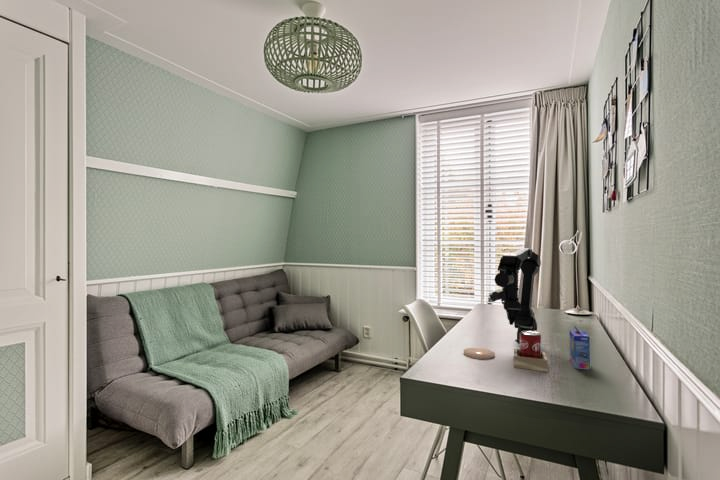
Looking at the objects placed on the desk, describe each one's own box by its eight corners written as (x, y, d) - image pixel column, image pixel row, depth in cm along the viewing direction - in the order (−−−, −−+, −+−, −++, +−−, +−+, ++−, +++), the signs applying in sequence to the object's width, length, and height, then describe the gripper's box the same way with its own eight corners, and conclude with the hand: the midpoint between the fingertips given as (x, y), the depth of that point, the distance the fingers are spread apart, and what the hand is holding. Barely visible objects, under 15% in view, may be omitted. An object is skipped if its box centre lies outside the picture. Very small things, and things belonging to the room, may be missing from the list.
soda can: (540, 363, 146) (541, 331, 146) (540, 369, 140) (541, 336, 140) (519, 360, 149) (520, 329, 149) (518, 366, 143) (519, 333, 143)
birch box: (513, 358, 152) (513, 348, 152) (544, 362, 148) (544, 351, 148) (514, 367, 141) (514, 356, 141) (547, 371, 137) (547, 360, 137)
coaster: (482, 349, 164) (482, 347, 164) (501, 357, 153) (501, 355, 153) (457, 351, 160) (457, 349, 160) (474, 360, 149) (474, 357, 149)
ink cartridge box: (568, 360, 151) (569, 323, 151) (584, 362, 149) (585, 324, 149) (573, 368, 141) (574, 328, 141) (590, 370, 139) (591, 330, 139)
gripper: (489, 281, 172) (488, 316, 172) (491, 286, 154) (490, 325, 154) (516, 282, 169) (515, 318, 169) (521, 288, 151) (520, 327, 151)
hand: (510, 322), depth 161 cm, fingers open, 9 cm apart
